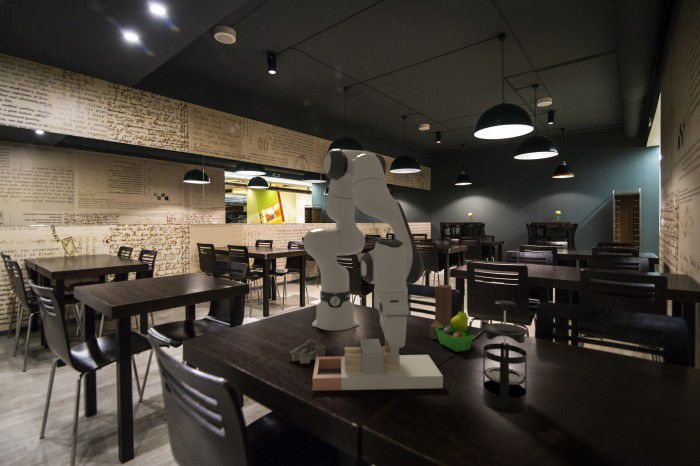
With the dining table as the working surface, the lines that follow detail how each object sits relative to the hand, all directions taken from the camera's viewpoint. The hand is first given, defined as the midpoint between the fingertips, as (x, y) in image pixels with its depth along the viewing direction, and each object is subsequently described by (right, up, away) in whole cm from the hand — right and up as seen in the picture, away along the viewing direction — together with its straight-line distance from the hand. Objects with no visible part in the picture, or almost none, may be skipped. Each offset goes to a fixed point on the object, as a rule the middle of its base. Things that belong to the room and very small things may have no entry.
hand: (391, 353), depth 92 cm
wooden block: (+22, -6, +33) cm, 40 cm away
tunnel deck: (-4, -6, 0) cm, 8 cm away
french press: (+24, -7, -13) cm, 28 cm away
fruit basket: (+24, -6, +23) cm, 34 cm away
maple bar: (-5, -3, 0) cm, 6 cm away
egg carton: (-24, -7, +15) cm, 28 cm away
